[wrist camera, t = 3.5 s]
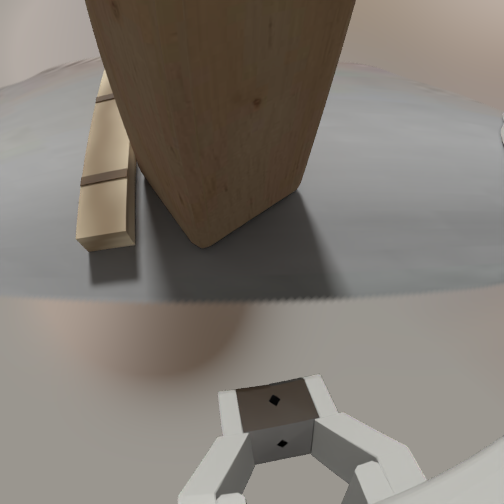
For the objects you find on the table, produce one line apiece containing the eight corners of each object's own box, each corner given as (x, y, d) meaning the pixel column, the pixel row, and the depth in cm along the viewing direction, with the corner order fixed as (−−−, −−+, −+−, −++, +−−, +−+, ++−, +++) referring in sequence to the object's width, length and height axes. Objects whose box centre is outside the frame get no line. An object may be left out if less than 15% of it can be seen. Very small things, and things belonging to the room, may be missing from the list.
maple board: (143, 76, 31) (139, 58, 29) (135, 245, 24) (125, 230, 21) (110, 83, 31) (104, 66, 28) (88, 251, 23) (75, 238, 21)
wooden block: (201, 258, 24) (143, -34, 5) (138, 170, 26) (69, -51, 8) (303, 190, 26) (379, -51, 8) (232, 119, 29) (238, -88, 11)
